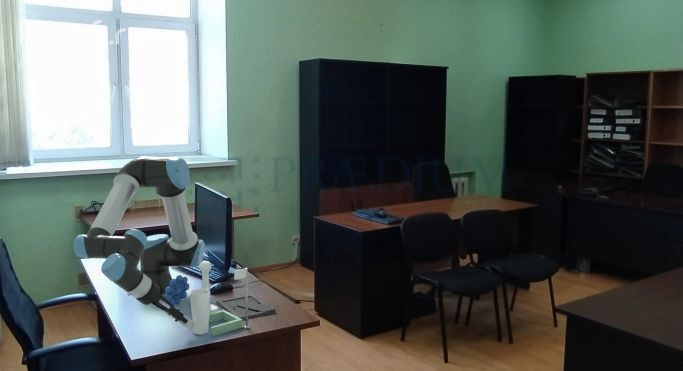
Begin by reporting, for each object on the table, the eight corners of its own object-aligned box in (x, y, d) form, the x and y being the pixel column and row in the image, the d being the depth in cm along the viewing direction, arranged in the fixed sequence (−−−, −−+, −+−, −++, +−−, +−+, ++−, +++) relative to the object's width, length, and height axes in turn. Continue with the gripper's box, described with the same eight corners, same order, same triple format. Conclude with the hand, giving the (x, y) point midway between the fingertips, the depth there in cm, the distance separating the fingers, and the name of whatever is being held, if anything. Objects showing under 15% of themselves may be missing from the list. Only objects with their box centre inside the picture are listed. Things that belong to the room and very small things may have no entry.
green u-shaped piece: (194, 325, 210) (194, 317, 210) (223, 317, 219) (223, 309, 218) (212, 336, 201) (212, 328, 201) (242, 327, 210) (242, 319, 209)
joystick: (220, 312, 223) (219, 262, 220) (205, 318, 217) (204, 266, 214) (200, 306, 230) (199, 257, 227) (185, 311, 223) (184, 261, 220)
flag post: (232, 330, 207) (232, 269, 204) (247, 325, 211) (247, 266, 208) (236, 332, 205) (236, 271, 202) (251, 327, 210) (251, 268, 206)
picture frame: (275, 313, 225) (252, 297, 242) (275, 308, 224) (252, 292, 242) (237, 321, 216) (216, 304, 233) (237, 316, 216) (216, 299, 233)
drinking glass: (193, 328, 208) (192, 288, 205) (212, 328, 208) (211, 288, 206) (189, 336, 201) (188, 294, 199) (208, 336, 201) (208, 294, 199)
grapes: (182, 298, 237) (182, 270, 235) (193, 302, 233) (192, 273, 231) (158, 306, 228) (157, 277, 226) (168, 310, 224) (168, 280, 222)
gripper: (127, 293, 191) (175, 329, 204) (144, 304, 181) (193, 341, 195) (142, 274, 193) (188, 311, 207) (160, 284, 184) (207, 322, 198)
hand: (190, 325), depth 201 cm, fingers closed
